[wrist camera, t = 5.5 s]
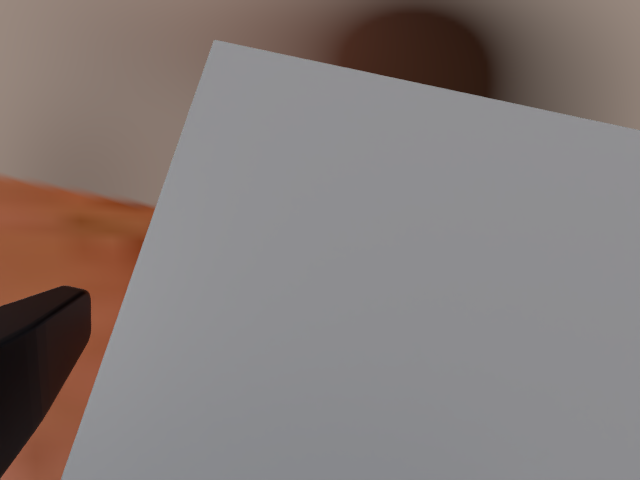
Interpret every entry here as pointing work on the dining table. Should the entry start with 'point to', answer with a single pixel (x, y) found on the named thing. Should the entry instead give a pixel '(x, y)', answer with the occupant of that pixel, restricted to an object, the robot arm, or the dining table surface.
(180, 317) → the module
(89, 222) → the dining table surface
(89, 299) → the robot arm
